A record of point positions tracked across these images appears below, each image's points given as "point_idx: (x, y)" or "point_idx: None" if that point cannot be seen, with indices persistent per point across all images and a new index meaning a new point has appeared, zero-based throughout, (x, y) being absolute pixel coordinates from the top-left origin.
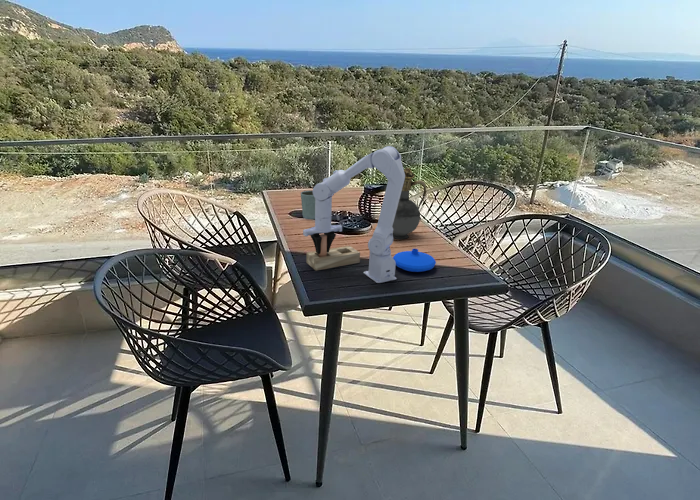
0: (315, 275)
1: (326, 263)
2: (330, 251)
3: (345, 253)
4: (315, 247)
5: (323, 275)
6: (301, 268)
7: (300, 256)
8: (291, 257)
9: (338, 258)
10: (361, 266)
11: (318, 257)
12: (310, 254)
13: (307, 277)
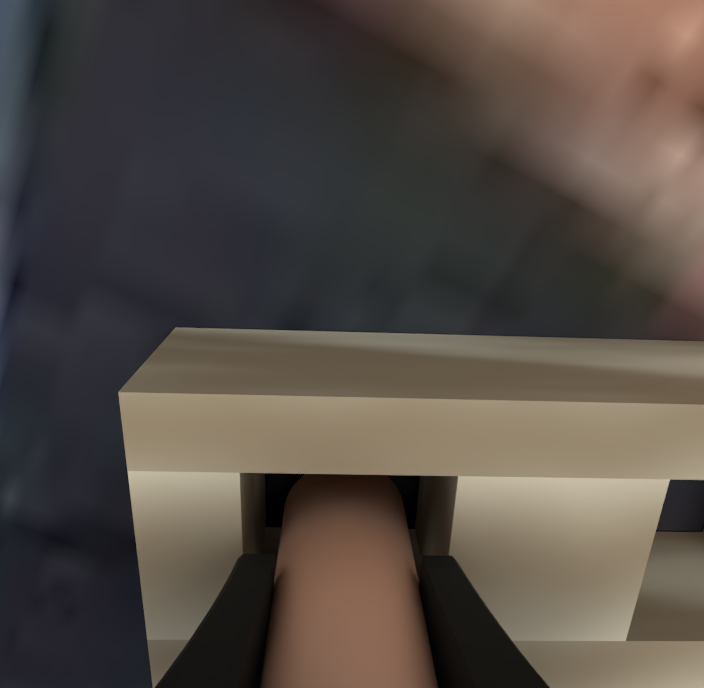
0: (143, 658)
1: None
2: (535, 509)
3: (677, 651)
4: (208, 626)
5: None
6: (49, 459)
7: (176, 45)
8: (10, 14)
9: None
10: None
11: None
12: (154, 494)
13: (46, 666)
